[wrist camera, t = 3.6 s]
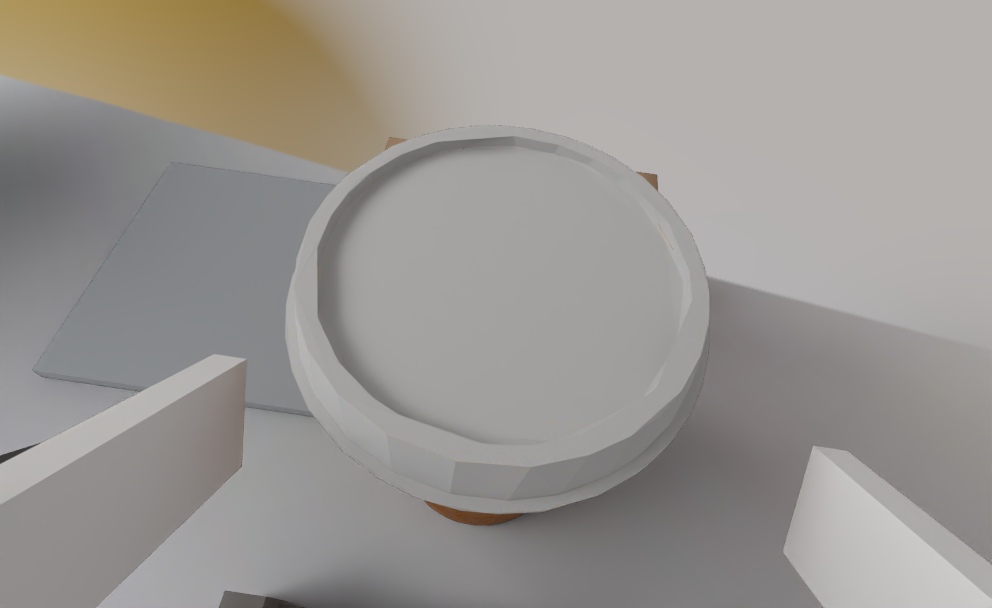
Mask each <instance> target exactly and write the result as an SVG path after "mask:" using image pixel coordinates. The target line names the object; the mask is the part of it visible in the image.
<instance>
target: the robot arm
mask: <svg viewBox="0 0 992 608" xmlns="http://www.w3.org/2000/svg"><path fill="white" fill-rule="evenodd" d="M246 362H247V359H244V358H238V357H231V356H224V355H218V354H213V355H211V356H209V357H207V358H206V359H204V360H202V361H200V362H198V363H196V364H194V365H192V366H190V367H188V368H186V369H184V370H182V371H180V372H178V373H176V374H174V375H172V376H171V377H169V378H167V379H165V380H163V381H161V382H159V383H157V384H155V385H153V386H151V387H149V388H147V389H145V390H143V391H141V392H139V393H137V394H136V395H134V396H132V397H130V398H128V399H126V400H124V401H122V402H120V403H118V404H116V405H114V406H112V407H110V408H108V409H106V410H104V411H102V412H101V413H99V414H97V415H95V416H93V417H91V418H89V419H87V420H85V421H83V422H81V423H79V424H77V425H75V426H73V427H71V428H69V429H67V430H66V431H64V432H62V433H60V434H58V435H56V436H54V437H52V438H50V439H48V440H46V441H44V442H42V443H39V444H36V445H33V446H30V447H26V448H23V449H20V450H17V451H13V452H10V453H7V454H4V455H1V456H0V608H96V607H97V606H98V605H99V604H100V603H101V602H102V601H103V600H104V599H105V598H106V597H107V596H108V595H109V594H110V593H111V592H112V591H113V590H114V589H115V588H116V587H117V586H118V585H119V584H120V583H122V582H123V581H124V580H125V579H126V578H127V577H128V576H129V575H130V574H131V573H132V572H133V571H134V570H135V569H136V568H137V567H138V566H139V565H140V564H141V563H142V562H143V561H144V560H145V559H146V558H147V557H148V556H150V555H151V554H152V553H153V552H154V551H155V550H156V549H157V548H158V547H159V546H160V545H161V544H162V543H163V542H164V541H165V540H166V539H167V538H168V537H169V536H170V535H171V534H172V533H173V532H174V531H175V530H176V529H177V528H179V527H180V526H181V525H182V524H183V523H184V522H185V521H186V520H187V519H188V518H189V517H190V516H191V515H192V514H193V513H194V512H195V511H196V510H197V509H198V508H199V507H200V506H201V505H202V504H203V503H204V502H205V501H207V500H208V499H209V498H210V497H211V496H212V495H213V494H214V493H215V492H216V491H217V490H218V489H219V488H220V487H221V486H222V485H223V484H224V483H225V482H226V481H227V480H228V479H229V478H230V477H231V476H232V475H233V474H235V473H236V472H237V471H238V470H239V469H240V468H241V467H242V452H243V430H244V407H245V385H246ZM783 553H784V554H785V556H786V557H787V558H788V560H789V561H790V562H791V564H792V565H793V567H794V568H795V569H796V571H797V572H798V573H799V575H800V576H801V577H802V579H803V580H804V582H805V583H806V584H807V586H808V587H809V588H810V590H811V591H812V593H813V594H814V595H815V597H816V598H817V599H818V601H819V602H820V604H821V605H822V606H823V608H992V565H991V564H990V563H989V562H988V561H986V560H985V559H984V558H982V557H981V556H980V555H979V554H977V553H976V552H975V551H974V550H972V549H971V548H970V547H969V546H967V545H966V544H965V543H963V542H962V541H961V540H960V539H958V538H957V537H956V536H955V535H953V534H952V533H951V532H950V531H948V530H947V529H946V528H944V527H943V526H942V525H941V524H939V523H938V522H937V521H936V520H934V519H933V518H932V517H930V516H929V515H928V514H927V513H925V512H924V511H923V510H922V509H920V508H919V507H918V506H917V505H915V504H914V503H913V502H911V501H910V500H909V499H908V498H906V497H905V496H904V495H903V494H901V493H900V492H899V491H898V490H896V489H895V488H894V487H892V486H891V485H890V484H889V483H887V482H886V481H885V480H884V479H882V478H881V477H880V476H878V475H877V474H876V473H875V472H873V471H872V470H871V469H870V468H868V467H867V466H866V465H865V464H863V463H862V462H861V461H859V460H858V459H857V458H856V457H854V456H853V455H852V454H851V453H849V452H848V451H845V450H839V449H832V448H826V447H819V446H813V448H812V452H811V455H810V459H809V462H808V466H807V469H806V472H805V476H804V479H803V483H802V486H801V490H800V493H799V496H798V500H797V503H796V507H795V510H794V514H793V517H792V521H791V524H790V527H789V531H788V534H787V538H786V541H785V545H784V548H783Z"/></svg>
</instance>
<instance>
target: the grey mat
mask: <svg viewBox="0 0 992 608" xmlns="http://www.w3.org/2000/svg"><path fill="white" fill-rule="evenodd" d="M336 186H337V185H331V184H324V183H316V182H309V181H302V180H295V179H288V178H281V177H274V176H267V175H260V174H253V173H246V172H239V171H232V170H225V169H217V168H210V167H203V166H196V165H189V164H182V163H175V162H171V163H170V165H169V166H168V168H167V169H166V171H165V172H164V174H163V175H162V177H161V178H160V180H159V181H158V183H157V184H156V186H155V187H154V189H153V190H152V192H151V193H150V195H149V196H148V198H147V199H146V201H145V202H144V204H143V205H142V207H141V208H140V210H139V211H138V213H137V214H136V216H135V217H134V219H133V220H132V222H131V223H130V225H129V226H128V228H127V229H126V231H125V232H124V234H123V235H122V237H121V238H120V240H119V241H118V243H117V244H116V246H115V247H114V249H113V250H112V251H111V253H110V254H109V256H108V257H107V259H106V260H105V262H104V263H103V265H102V266H101V268H100V269H99V271H98V272H97V274H96V275H95V277H94V278H93V280H92V281H91V283H90V284H89V286H88V287H87V289H86V290H85V292H84V293H83V295H82V296H81V298H80V299H79V301H78V302H77V304H76V305H75V307H74V308H73V310H72V311H71V313H70V314H69V316H68V317H67V319H66V320H65V322H64V323H63V325H62V326H61V328H60V329H59V331H58V332H57V334H56V335H55V337H54V338H53V340H52V341H51V343H50V344H49V346H48V347H47V349H46V350H45V352H44V353H43V355H42V356H41V358H40V359H39V361H38V362H37V364H36V365H35V367H34V368H33V369H32V371H34V372H35V373H37V374H38V375H40V376H42V377H47V378H54V379H61V380H67V381H74V382H81V383H88V384H95V385H101V386H108V387H115V388H122V389H129V390H135V391H143V390H145V389H147V388H149V387H151V386H153V385H155V384H157V383H159V382H161V381H163V380H165V379H167V378H169V377H171V376H172V375H174V374H176V373H178V372H180V371H182V370H184V369H186V368H188V367H190V366H192V365H194V364H196V363H198V362H200V361H202V360H204V359H206V358H207V357H209V356H211V355H213V354H218V355H224V356H231V357H238V358H244V359H247V362H246V385H245V407H251V408H257V409H264V410H271V411H278V412H284V413H291V414H298V415H305V416H312V417H314V415H313V414H312V413H311V412H310V410H309V409H308V407H307V405H306V402H305V400H304V398H303V396H302V393H301V391H300V389H299V386H298V384H297V382H296V379H295V377H294V375H293V372H292V369H291V364H290V359H289V354H288V349H287V344H286V339H285V321H286V302H287V297H288V293H289V288H290V284H291V279H292V275H293V273H294V271H295V269H296V258H297V255H298V253H299V250H300V247H301V244H302V241H303V238H304V236H305V233H306V230H307V227H308V224H309V222H310V220H311V218H312V217H313V215H314V214H315V213H316V211H317V210H318V208H319V207H320V205H321V204H322V202H323V201H324V199H325V198H326V197H327V195H328V194H329V193H330V192H331V191H332V190H333V189H334V188H335V187H336Z"/></svg>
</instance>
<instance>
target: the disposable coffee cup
mask: <svg viewBox="0 0 992 608" xmlns="http://www.w3.org/2000/svg"><path fill="white" fill-rule="evenodd" d="M708 325H709V287H708V282H707V277H706V271H705V267H704V264H703V262H702V259H701V257H700V254H699V251H698V249H697V246H696V244H695V241H694V239H693V236H692V234H691V232H690V231H689V229H688V228H687V227H686V225H685V224H684V222H683V221H682V220H681V218H680V217H679V216H678V214H677V213H676V212H675V210H674V209H673V207H672V206H671V205H670V203H669V202H668V200H667V199H665V198H664V197H663V196H662V195H661V194H660V193H659V192H658V191H657V190H656V189H655V188H654V187H653V186H652V185H651V184H650V183H649V182H648V181H647V180H646V179H645V178H644V177H642V176H641V175H639V174H638V173H636V172H635V171H633V170H632V169H630V168H629V167H627V166H626V165H624V164H623V163H621V162H620V161H618V160H617V159H615V158H614V157H612V156H610V155H608V154H606V153H604V152H602V151H599V150H597V149H595V148H593V147H591V146H589V145H587V144H585V143H582V142H579V141H576V140H573V139H570V138H568V137H565V136H561V135H556V134H552V133H548V132H544V131H540V130H536V129H530V128H520V127H511V126H501V125H499V126H470V127H461V128H451V129H446V130H441V131H437V132H433V133H428V134H424V135H421V136H418V137H415V138H413V139H410V140H407V141H405V142H402V143H399V144H397V145H394V146H391V147H390V148H388V149H387V150H385V151H384V152H382V153H380V154H379V155H377V156H376V157H374V158H373V159H371V160H369V161H368V162H366V163H365V164H363V165H362V166H360V167H358V168H357V169H355V170H354V171H352V172H351V173H349V174H348V175H347V176H346V177H345V178H344V179H343V180H342V181H341V182H340V183H339V184H338V185H337V186H336V187H335V188H334V189H333V190H332V191H331V192H330V193H329V194H328V195H327V197H326V198H325V199H324V201H323V202H322V204H321V205H320V207H319V208H318V210H317V211H316V213H315V214H314V215H313V217H312V218H311V220H310V222H309V224H308V227H307V230H306V233H305V236H304V238H303V241H302V244H301V247H300V250H299V253H298V255H297V258H296V269H295V271H294V273H293V275H292V279H291V284H290V288H289V293H288V297H287V302H286V321H285V339H286V344H287V349H288V354H289V359H290V364H291V369H292V372H293V375H294V377H295V379H296V382H297V384H298V386H299V389H300V391H301V393H302V396H303V398H304V400H305V402H306V405H307V407H308V409H309V410H310V412H311V413H312V414H313V415H314V417H315V418H316V419H317V420H318V421H319V423H320V424H321V425H322V426H323V428H324V429H325V430H326V431H327V433H328V434H329V435H330V436H331V437H332V439H333V440H334V441H335V442H336V444H337V445H338V446H339V447H340V449H341V450H342V451H343V452H344V453H345V454H347V455H348V456H349V457H351V458H352V459H353V460H355V461H356V462H357V463H358V464H360V465H361V466H362V467H364V468H365V469H366V470H368V471H369V472H370V473H372V474H373V475H374V476H375V477H377V478H379V479H381V480H383V481H384V482H386V483H388V484H390V485H392V486H394V487H396V488H398V489H399V490H401V491H403V492H405V493H407V494H409V495H411V496H412V497H416V498H419V499H422V500H424V501H425V502H426V503H427V504H428V505H429V506H430V507H431V508H432V509H434V510H435V511H437V512H438V513H440V514H442V515H443V516H445V517H447V518H449V519H451V520H454V521H456V522H460V523H466V524H471V525H488V526H489V525H493V524H498V523H502V522H505V521H509V520H511V519H513V518H515V517H517V516H519V515H522V514H523V513H534V512H544V511H548V510H551V509H555V508H558V507H561V506H565V505H568V504H572V503H575V502H578V501H582V500H585V499H588V498H592V497H595V496H598V495H601V494H603V493H604V492H606V491H608V490H610V489H611V488H613V487H615V486H617V485H618V484H620V483H622V482H624V481H625V480H627V479H629V478H631V477H632V476H634V475H636V474H638V473H639V472H640V471H641V470H642V469H644V468H645V467H646V466H647V465H648V464H649V463H651V462H652V461H653V460H654V459H655V458H656V457H657V456H658V455H659V454H660V453H661V452H662V451H663V450H664V449H665V448H666V447H667V446H668V445H670V443H671V442H672V440H673V439H674V437H675V436H676V434H677V433H678V432H679V430H680V429H681V427H682V426H683V424H684V423H685V421H686V420H687V419H688V417H689V416H690V414H691V411H692V409H693V407H694V404H695V402H696V400H697V397H698V395H699V393H700V390H701V388H702V385H703V380H704V375H705V370H706V364H707V359H708V354H709V326H708Z"/></svg>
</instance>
